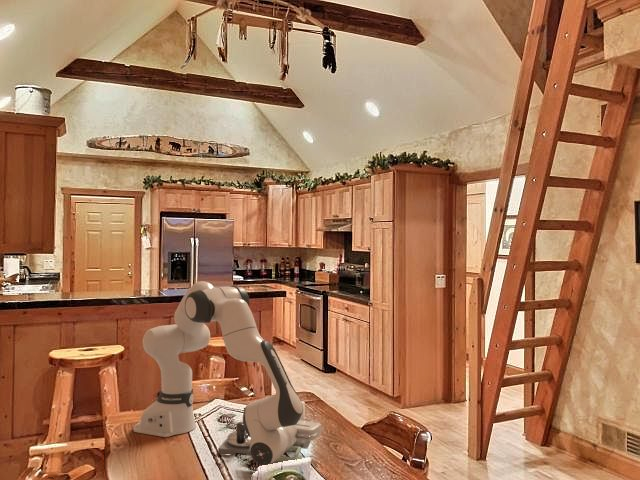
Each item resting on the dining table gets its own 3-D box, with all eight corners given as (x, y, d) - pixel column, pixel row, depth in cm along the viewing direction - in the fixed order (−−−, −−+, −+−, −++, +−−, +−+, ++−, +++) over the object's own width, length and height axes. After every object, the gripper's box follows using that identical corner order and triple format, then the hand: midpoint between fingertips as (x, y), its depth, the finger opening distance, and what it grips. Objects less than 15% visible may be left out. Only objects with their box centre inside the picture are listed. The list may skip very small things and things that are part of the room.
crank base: (218, 454, 163) (218, 447, 163) (232, 438, 176) (232, 431, 176) (259, 457, 160) (259, 451, 160) (270, 440, 174) (270, 434, 174)
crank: (221, 446, 163) (222, 424, 163) (234, 432, 175) (234, 411, 175) (257, 449, 161) (257, 426, 161) (267, 435, 173) (267, 413, 173)
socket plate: (287, 449, 167) (287, 446, 167) (291, 441, 174) (291, 438, 174) (307, 451, 166) (307, 448, 166) (311, 443, 172) (311, 440, 172)
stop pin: (293, 445, 168) (293, 404, 168) (295, 441, 172) (295, 400, 172) (303, 446, 167) (303, 404, 168) (305, 441, 171) (305, 401, 171)
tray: (266, 463, 156) (266, 456, 156) (273, 451, 165) (274, 444, 165) (295, 465, 155) (295, 458, 155) (300, 453, 164) (300, 446, 164)
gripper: (313, 428, 153) (327, 414, 166) (254, 420, 159) (272, 406, 173) (313, 449, 153) (327, 433, 166) (254, 439, 159) (271, 425, 172)
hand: (298, 419), depth 169 cm, fingers open, 8 cm apart
